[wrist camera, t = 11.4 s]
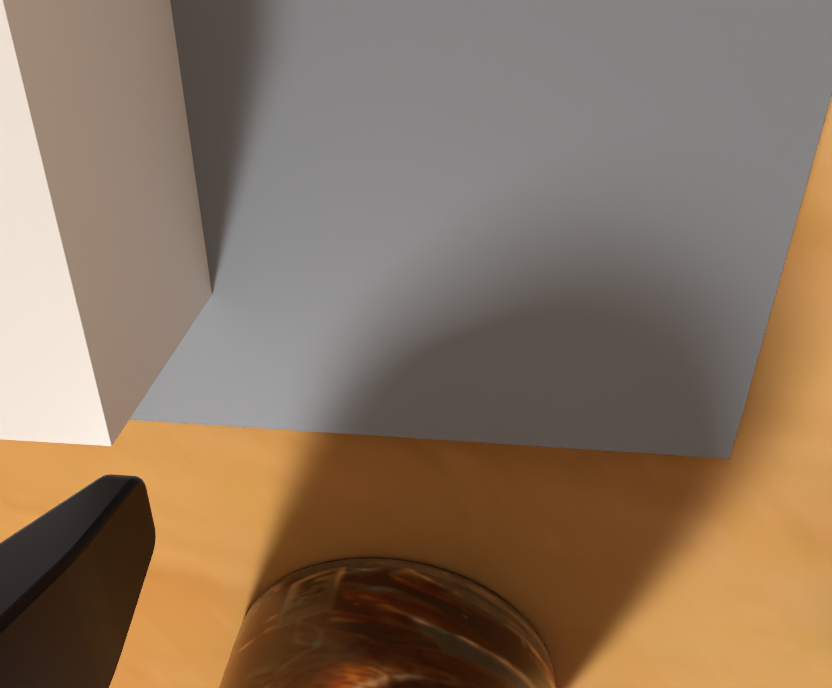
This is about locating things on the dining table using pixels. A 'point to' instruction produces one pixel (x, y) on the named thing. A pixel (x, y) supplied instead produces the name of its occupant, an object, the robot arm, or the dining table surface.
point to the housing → (92, 215)
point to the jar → (384, 632)
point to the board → (493, 214)
